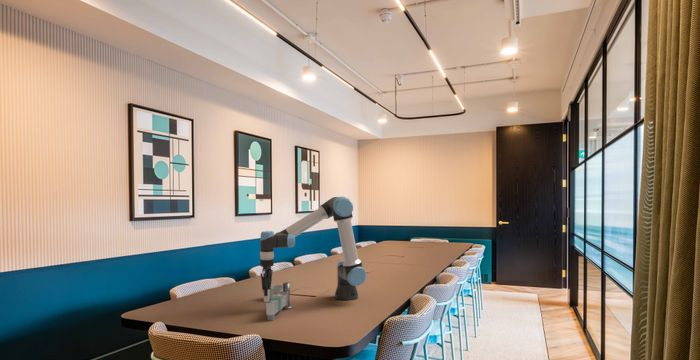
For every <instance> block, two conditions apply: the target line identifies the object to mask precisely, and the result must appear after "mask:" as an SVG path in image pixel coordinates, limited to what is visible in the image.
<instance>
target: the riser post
mask: <svg viewBox="0 0 700 360" xmlns="http://www.w3.org/2000/svg"><path fill="white" fill-rule="evenodd" d="M290 284H291V283H290V282H288V281H287V282H286V281H285V282H282V285H283V291H288V308H282V309H281V310H291V309H293V308H294V305H293V304H290V303H291V301H290V300H291V299H290V298H291V297H290V295H291V285H290Z"/></svg>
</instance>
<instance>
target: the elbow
mask: <svg viewBox="0 0 700 360" xmlns="http://www.w3.org/2000/svg"><path fill="white" fill-rule="evenodd" d="M272 297H281V310H283V309H282V308H288V291H280V294H278V295H273V296H272Z"/></svg>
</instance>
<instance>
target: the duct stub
mask: <svg viewBox="0 0 700 360" xmlns="http://www.w3.org/2000/svg"><path fill="white" fill-rule="evenodd" d="M265 304H266V305H265V308H266V309H265V310H266V313H265V315H266V316H267V321H272V322H273V321H275V320H276V314H277V313H278V312H281V311H282V309H281V297H271V299H269V301H268V302H266V303H265Z"/></svg>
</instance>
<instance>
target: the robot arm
mask: <svg viewBox="0 0 700 360" xmlns="http://www.w3.org/2000/svg"><path fill="white" fill-rule="evenodd" d="M353 211H354V204H353V201H351V199H350V198H348V197H346V196H334V197H331V198H330V199H328V200H326V201H325V202H324V203H322V204H321V205H319V206H318V208H317V209H315V210H314V211H312V212H310V213H309V214H307V215H306V216H304V217H302V218H300V219H299V220H297V221H296V222H294V223H293V224H291V225H289V226H287V227H286V228H284V229H282V230H280V231H278V232H274V230H273V231H272V230H271V231H269V230H266V231H265V230H264V231H261V232H260V238H259V239H260V240H259V243H260V247H259V248H260V249H259V250H260V251H259V258H260V260H259V266H260V267H262V270H261V271H262V272H261V273H260V279H261V287H262V288H261V291H262V290H264V293H263V303H264V302H266V303H267V302H268V301H270V298H269V289H271V288H270V287H271V285H272V279H273V272H274V270H273V269H272V267H273V266H274V261H275V260H274V258H275V254H274V252H275V249H277V248H278V249H280V248H283V249H285V248H294V247H295V246H296V237H297V236H299V235H301V234H303V233H304V232H306V231H307V230H309V229H310V228H312V227H314V226H316V225H317V224H319V223H320V222H322V221H323V220H328V219H330V218H332V217H333V222H335V223H336V225H337V230H338V235H339V240H340V245H341V250H342V256H343V261H341V260H339V261H338V262H337V266H336V269H337V270H336V271H337V272H336V274H337V276H336V277H337V279H336V280H337V285H336V289H335V291H334V299H337V300H341V301H352V300H356V299H359V292H358V289H357V287H359V286H362V285H363V284H364V283H365V281H366V279H367V276H368V275H367V271H366V269H365V268H364V266H363V262H362V260H361V259H360V258H359V255H358V254H359V253H358V250H357V245H356V240H355V236H354V228H353V224H352V219H353V217H354V216H353Z"/></svg>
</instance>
